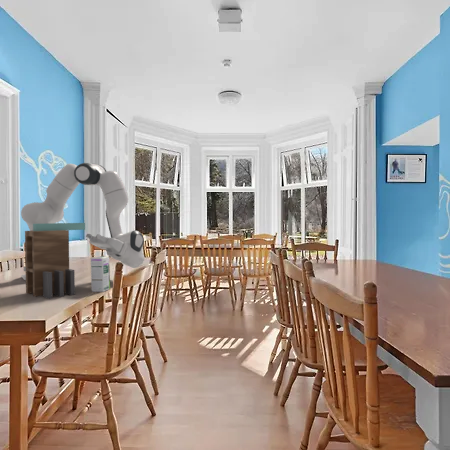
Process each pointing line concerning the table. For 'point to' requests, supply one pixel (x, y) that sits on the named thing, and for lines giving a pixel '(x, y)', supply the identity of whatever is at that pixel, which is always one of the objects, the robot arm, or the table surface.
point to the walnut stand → (45, 257)
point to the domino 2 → (59, 283)
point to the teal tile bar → (58, 226)
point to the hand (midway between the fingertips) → (91, 235)
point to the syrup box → (100, 274)
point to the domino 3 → (70, 281)
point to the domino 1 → (47, 284)
